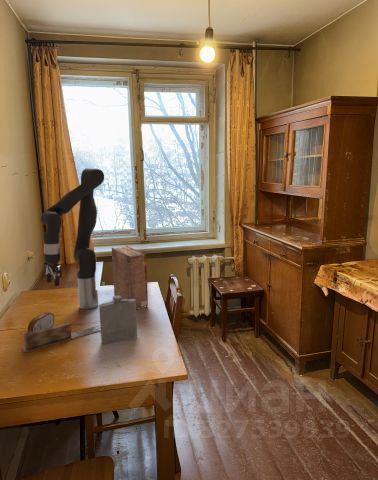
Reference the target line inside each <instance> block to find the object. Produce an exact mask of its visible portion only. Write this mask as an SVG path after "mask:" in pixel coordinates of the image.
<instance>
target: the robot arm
mask: <svg viewBox="0 0 378 480" xmlns="http://www.w3.org/2000/svg"><path fill="white" fill-rule="evenodd" d="M104 180H105V174H104V171H103V170H102V169H100V168H97V167H86V168H84V169H83V170H82V171H81V175H80V184H79V185H78V186H76V187H75V188H73V189H72V190H70V191H68V192H67V193H66V194H64V195H63V196H62V197H61V198H60V199H59V200H58V201H57V202H56V203H54V204H53V205H52V206H50V207H48V208H47V209H46V210H45V211H43V212H42V214H41V217H40V221H41V223H42V224H43V225H45V226H47V229H46V231H45V232H44V233H43V273H44V274H45V275H46V283H48V284H49V283H52V281H54V287H59V286H60V279H61V278H63V272H62V266H61V265H59V264H58V263H60V262H61V246H60V244H61V243H60V233H61V227H62V217H61V216H63V215H66V214H68V213H69V212H70V211H71V210H72V209H73V208H75V206H76V205H77V204H78V203H79V202H80V203H79V210H78V211H79V212H78V221H77V233H76V242H75V246H74V251H73V258H74V260H75V261H76V263H78V268H79V270H78V271H77V273H76V278H77V289H78V291H77V292H78V302H79V303H78V304H79V308H80V309H81V310H91V309H95V308H97V307H99V294H98V289H97V286H96V285H97V284H96V283H97V282H96V271H97V261H96V260H97V259H96V252H95V251H94V250H93V249H91V248H90V242H91V237H92V233H93V232H94V230H95V227H96V225H97V217H98V208H97V204H96V201H95V198H94V197H95V196H94V190H95V189H96V188H98V187H100V185H102V184H103V182H104ZM52 277H53V278H54V280H52Z"/></svg>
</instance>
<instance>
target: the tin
mask: <svg viewBox="0 0 378 480" xmlns="http://www.w3.org/2000/svg"><path fill="white" fill-rule="evenodd" d="M54 314H55V313H52V312H50V311H45V312H42V313H40V314H38V315H37V316H35V317H33V318H32V319H31V320H30V321H29V323H28V325H27V332H34V331H38V330H42V329H46V328H50V327H54V324H55V315H54Z"/></svg>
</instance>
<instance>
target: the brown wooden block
mask: <svg viewBox="0 0 378 480" xmlns="http://www.w3.org/2000/svg"><path fill="white" fill-rule="evenodd" d="M71 333H72V328H71V323H70V322H66V323H62V324H59V325H53V326H52V327H50V328H46V329H42V330H38V331H34V332H28V331H27V332H24V333H23V334H24V342H25V346H26V348H27V350H29V349H33V347H36V346H39V345H43V344H47V343H50V342H54V341H57V340H61V339H64V338H68V337H71Z"/></svg>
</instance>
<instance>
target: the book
mask: <svg viewBox="0 0 378 480" xmlns="http://www.w3.org/2000/svg"><path fill="white" fill-rule="evenodd" d="M111 258H112V260H111V261H112V275H113V277H112V278H113V296H117V295H119V296H121V300H122V299H135V300H136V309H138V308H142V307H145V306H148V307H149V302H148V301H149V298H148V297H149V296H148V271H147V270H148V269H147V268H148V267H147V266H148V264H147V254H146V253H144V252H142V251H140V250H137V249H136V248H133V247H130V246H128V245H125V246H124V247H123V246H122V247H117V248H114V247H111ZM142 309H143V308H142ZM138 310H139V309H138Z"/></svg>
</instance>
